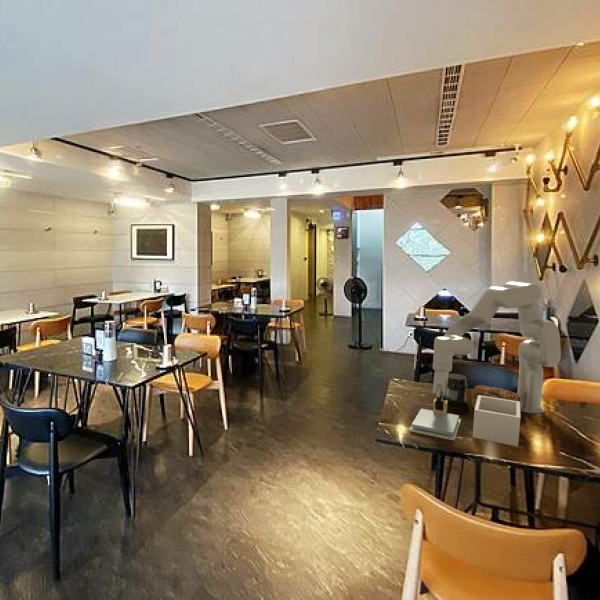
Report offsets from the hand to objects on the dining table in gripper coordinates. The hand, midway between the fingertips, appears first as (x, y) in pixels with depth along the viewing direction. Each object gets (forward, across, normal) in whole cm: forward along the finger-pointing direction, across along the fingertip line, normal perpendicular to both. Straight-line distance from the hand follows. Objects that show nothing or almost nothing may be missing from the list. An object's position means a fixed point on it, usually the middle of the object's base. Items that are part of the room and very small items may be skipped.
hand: (440, 407), depth 175 cm
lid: (+4, +8, 0) cm, 9 cm away
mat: (+5, +9, 0) cm, 10 cm away
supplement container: (+5, -25, +3) cm, 25 cm away
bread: (+5, -22, +21) cm, 31 cm away
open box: (+5, +4, +22) cm, 23 cm away
